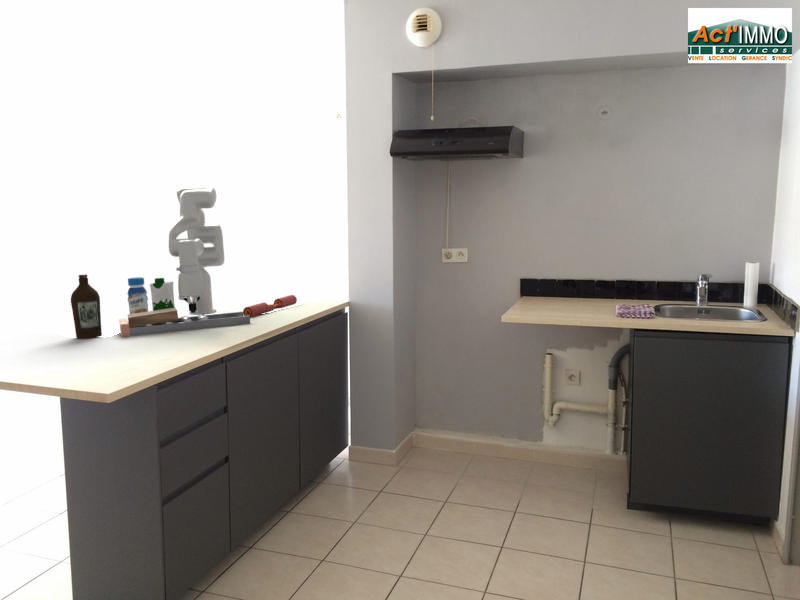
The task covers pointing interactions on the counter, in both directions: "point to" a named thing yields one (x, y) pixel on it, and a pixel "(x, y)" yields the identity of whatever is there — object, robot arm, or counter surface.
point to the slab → (152, 317)
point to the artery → (269, 306)
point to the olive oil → (86, 310)
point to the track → (185, 324)
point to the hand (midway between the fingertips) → (193, 312)
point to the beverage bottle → (137, 296)
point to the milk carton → (162, 294)
